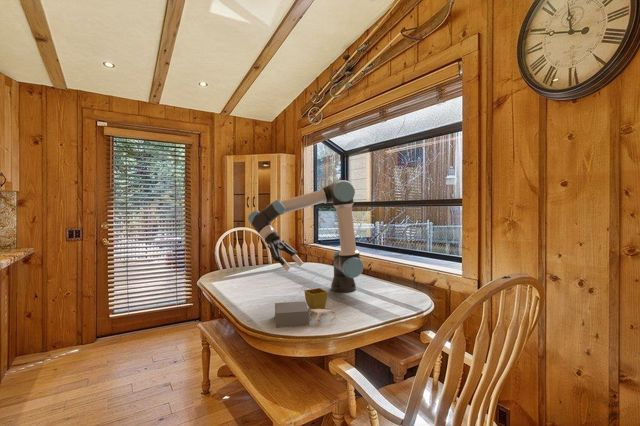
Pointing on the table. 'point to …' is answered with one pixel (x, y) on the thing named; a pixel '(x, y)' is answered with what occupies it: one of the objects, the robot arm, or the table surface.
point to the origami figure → (319, 312)
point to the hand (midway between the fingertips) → (295, 267)
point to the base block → (291, 314)
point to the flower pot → (316, 298)
